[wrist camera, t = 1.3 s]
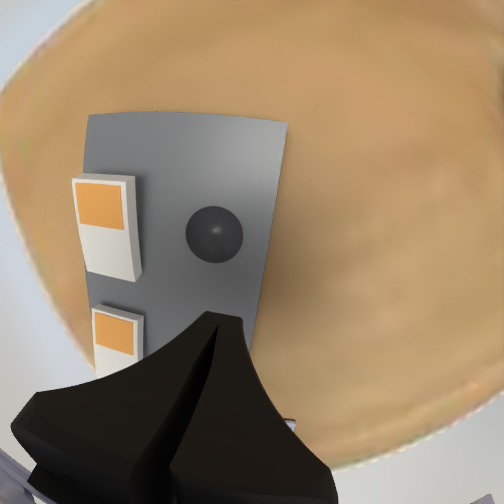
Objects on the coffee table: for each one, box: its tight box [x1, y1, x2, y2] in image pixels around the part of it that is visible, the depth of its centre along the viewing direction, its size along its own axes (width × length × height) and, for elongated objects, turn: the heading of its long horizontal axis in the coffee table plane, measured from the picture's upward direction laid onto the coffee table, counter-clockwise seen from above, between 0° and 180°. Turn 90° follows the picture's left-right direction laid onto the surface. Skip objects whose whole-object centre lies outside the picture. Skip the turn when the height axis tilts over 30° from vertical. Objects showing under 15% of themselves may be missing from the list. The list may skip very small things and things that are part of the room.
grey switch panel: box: [83, 112, 288, 359], centre depth 18 cm, size 22×12×3 cm, turn 172°
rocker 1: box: [72, 173, 142, 282], centre depth 14 cm, size 6×4×1 cm, turn 172°
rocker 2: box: [92, 304, 144, 379], centre depth 17 cm, size 6×4×1 cm, turn 172°
